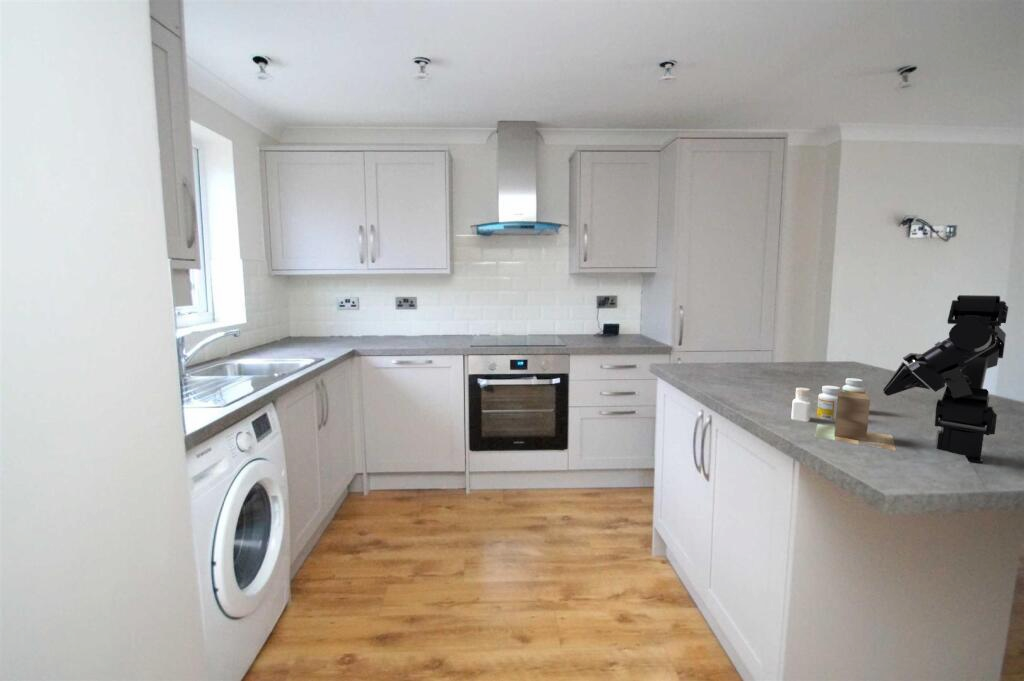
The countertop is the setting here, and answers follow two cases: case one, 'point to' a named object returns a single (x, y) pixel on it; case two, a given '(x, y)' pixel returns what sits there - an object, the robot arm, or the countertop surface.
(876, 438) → the trap board
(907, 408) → the countertop surface
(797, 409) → the white square pill bottle
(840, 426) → the walnut block
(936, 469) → the countertop surface
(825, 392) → the supplement bottle
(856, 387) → the supplement bottle
